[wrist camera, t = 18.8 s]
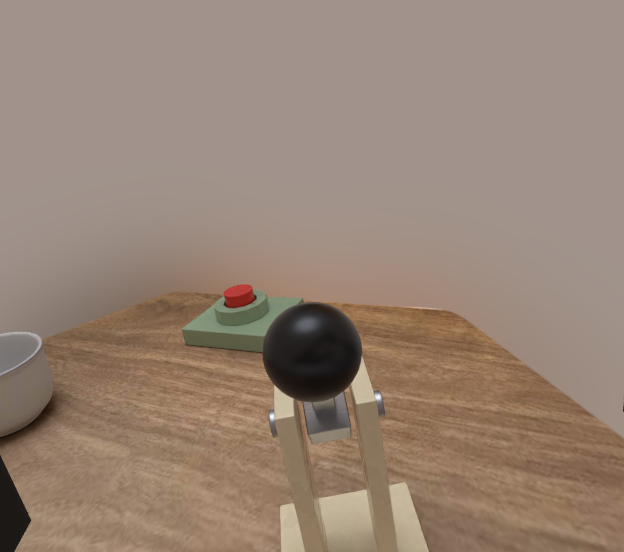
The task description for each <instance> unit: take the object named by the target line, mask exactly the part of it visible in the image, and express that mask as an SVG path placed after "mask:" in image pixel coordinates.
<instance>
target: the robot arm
mask: <svg viewBox="0 0 624 552" xmlns="http://www.w3.org/2000/svg"><path fill="white" fill-rule="evenodd" d="M623 412H624V407H623ZM30 522H31V519H30V517H29V515H28V512H27V510H26V508H25V506H24V504H23V502H22V500H21V498H20V496H19V494H18V492H17V489H16V487H15V485H14V483H13V481H12V479H11V477H10V475H9V473H8V471H7V469H6V466H5V464H4V462H3V460H2V458H1V456H0V552H14V551H15V549H16V547H17V546H18V544H19V542H20V540H21V538H22V536H23V535H24V533H25V531H26V529H27V527H28V525H29V524H30Z"/></svg>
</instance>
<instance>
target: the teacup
mask: <svg viewBox="0 0 624 552" xmlns="http://www.w3.org/2000/svg"><path fill="white" fill-rule="evenodd" d="M53 388H54V384H53V377H52V373H51V370H50V366H49V363H48V360H47V357H46V355H45V352H44V349H43V342H42V339H41V338H40V337H39V336H38V335H36V334H34V333H29V332H10V333H3V334H0V437H2V436H6V435H9V434H11V433H14V432H16V431H18V430H20V429H22V428H24V427H25V426H27V425H28V424H30V423H31V422H32V421H34V420H35V419H36V418H37V417H38V416H39V415H40V413H41V412H42V410H43V409H44V408H45V406H46V405H47V404H48V402H49V401H50V399H51V397H52V394H53Z"/></svg>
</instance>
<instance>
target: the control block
mask: <svg viewBox="0 0 624 552" xmlns="http://www.w3.org/2000/svg"><path fill="white" fill-rule="evenodd" d="M253 293H254V297H255V301H254V302H253V303H251V304H249V305H247V306H244V307H238V308H227V306H226V302H225V298H224V297H222V298H221V299H219V300H218V301H217V302H215V304H214V305H213V306H212V307H210V308H209V309H208V310H206V311H205V312H204V313H202V314H201V315H200V316H198V317H197V318H196V319H194V320H193V321H192V322H190V323H189V324H188V325H186V326H185V327H184V328H182V333H183V336H184V340H185V343H186V345H196V346H205V347H215V348H225V349H234V350H244V351H254V352H263V342H264V338H265V335H266V333H267V330H268V328H269V327H270V325H271V323H272V322H273V321H274V319H275V318H276V317H277V316H278V315H279V314H280V313H282V312H283V311H284V310H286V309H288V308H289V307H291V306H294V305H297V304H300V303H304V302H303V298H285V297H267V295H266V293H265V292H263V291H261V290H253Z"/></svg>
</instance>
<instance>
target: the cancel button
mask: <svg viewBox="0 0 624 552" xmlns="http://www.w3.org/2000/svg"><path fill="white" fill-rule="evenodd" d="M224 298H225V302H226V306H227V308H238V307H244V306H247V305H249V304H251V303H253V302H254V301H255V297H254V293H253V289H252V287H251V286H250V285H237V286H234V287H231V288H229V289H227V290H226V291H225V292H224Z"/></svg>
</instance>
